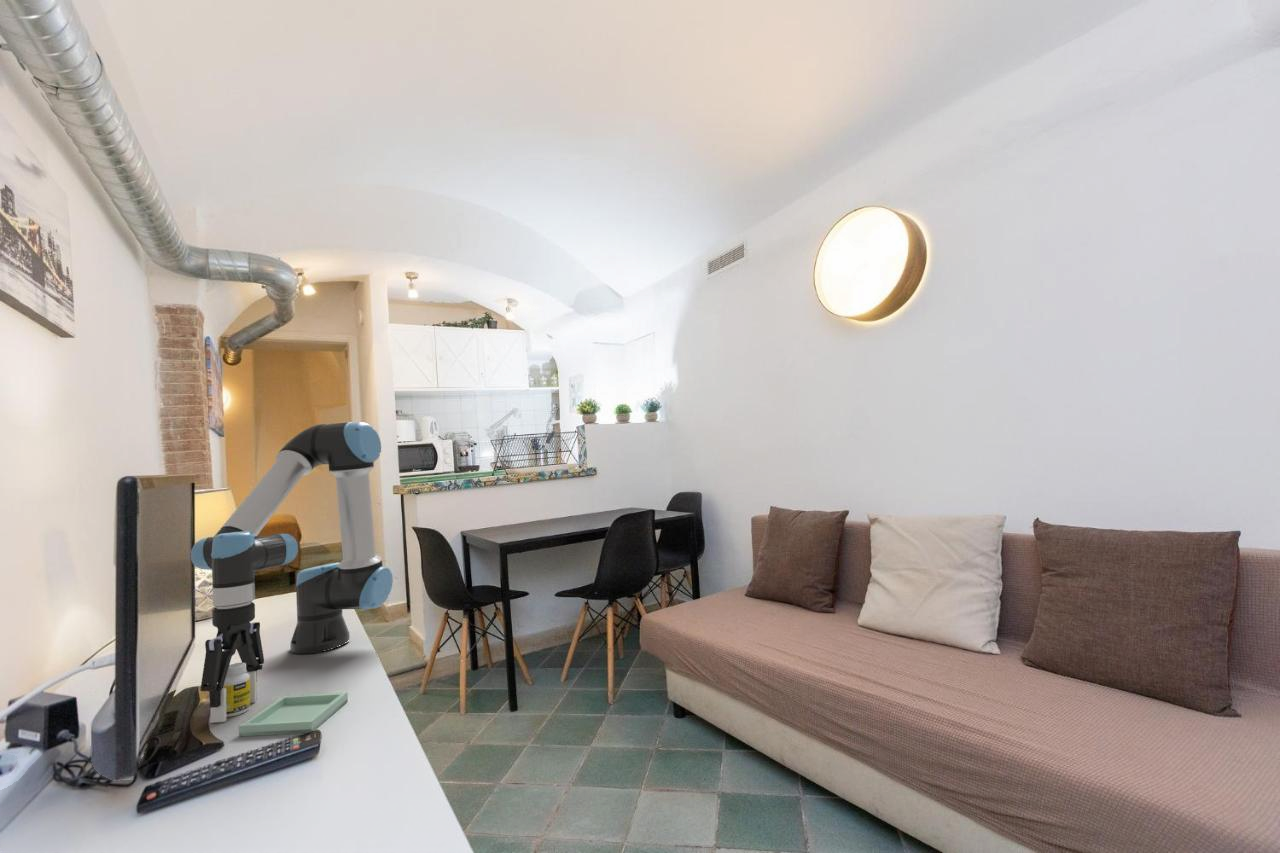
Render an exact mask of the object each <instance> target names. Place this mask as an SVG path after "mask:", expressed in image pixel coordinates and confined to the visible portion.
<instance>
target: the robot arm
mask: <svg viewBox="0 0 1280 853" xmlns="http://www.w3.org/2000/svg"><path fill="white" fill-rule="evenodd" d="M380 453H382V441H381V437H380V436H379V433H378V432H377V430H376V429H375V428H374V427H373V426H372V425H371V424H369V423H367V422H361V421H355V422H354V421H350V422H339V423H337V422H336V423H321V424H316V425H312V426H310V427H308V428H305V429H304V430H302V431H301V432H299V433H298V434H296V435H295V436H294V437H292V438H291V439H290V440H289V441H287V443H286V444H285V445H284V446H283V447H282V448H281V449H280V450H279V452H277V454H276V455H275V462H274V464H272V466H271V467H270V468H269V470H268V471H267V472H266V473H265V474H264V476H262V478H261V480H259V482H257V484H256V485H255V486H254V487H253V489H252V490H251V491H250V492H249V494H248V495H247V496H246V497H245V499H243V501H242V502H241V503H240V504H239V506H238V507H236V509H235V511H233V513H232V514H231V515H230V517H228V519H227V520H226V521H225V522H224V523H223V525H222V526H221V527H220V529H219V530H218V531H217V532H216V533H215V535H214V536H210V537H209V536H208V537H205V538H204V537H203V538H201V539H199V540H197V541H196V542H195V543H194V545H193V546H192V548H191V551H190V559H191V560H190V561H191V562H192V564H193V565H194V567H196V568H198V569H201V570H207V571H211V574H212V575H211V576H212V579H211V580H212V583H211V585H212V606H213V607H214V608H212V612H211V613H212V616H211V619H212V623H211V624H212V626H213V627H215V628H217V633H216V635H215V636H216V637H214V638H213V639H207V640H205V643H204V646H205V654H204V655H205V657H204V663H203V670H202V677H201V683H200V691H201V692H208V693H209V708H210V723H225V722H226V721H227V717H226V688H223V685H224V682H225V679H226V675H227V672H228V668H229V665H231V661H232V657H233V656H234V655H235V654H236V653H238V656H239V658H240V661H241V663H246V671H245V673H248V674H249V675H250V704H251V703H256V702H257V701H258V690H257V689H258V686H257V685H258V684H257V683H258V671H261V670H262V669H263V664H264V663H265V657H264V650H263V646H262V639H261V634H260V633H261V630H260V629H261V623H260V622H252V621H254V620H255V618H256V614H255V613H256V604H255V603H254V600H255V599H256V591H255V590H256V587H255V585H256V584H255V580H256V579H255V573H256V572H259V571H263V570H268V569H271V568H272V569H273V568H279V567H280V568H281V567H282V566H284V565H287V564H289V563H292V562H293V561H294V560H295V559H296V557H297V555H298V552H299V546H298V545H299V544H298V541H297V540H296V538H295V537H294V536H293V535H291V534H289V533H275V534H271V535H259V534H260V532H261V531H262V530H263V529H264V527H265V526H266V525H267V523H268V522H269V521H270V519H272V518H271V517H273V515H274V514H275V513H276V511H277V510H278V509H279V507H281V505H282V504H283V502H284V501H285V499H286V498H287V497H288V496H289V494H291V492H292V490H293V489H294V488H295V486H297V484H298V483H299V481H300V480H301V479H302V477H304V476H305V477H306V476H308V475H309V474H311V472H312V471H313V469H314V468H316V467H319V466H322V465H328V472H329V473H330V474H331V475H333V476H334V477H335V484H336V496H337V504H338V505H337V506H338V517H339V518H338V519H339V527H340V528H339V529H340V541H341V550H342V560H341V561H340V562H333V563H332V562H331V563H328V564H327V563H326V564H323V565H318V566H317V565H316V566H313V567H308V568H305V569H302V570H300V571H299V572H298V573H297V575H296V584H295V591H296V594H295V596H296V626H295V628H294V632H293V635H292V637H291V640H290V644H289V645H290V653H292V654H298V655H308V654H316V653H315V652H317V653H321V652H320V651H323V652H325V651H324V650H328V649H331V648H334V647H337V646H339V645H342V644H344V643H345V642H347V641H348V640H349V639H350V638H351V636H350V631H349V628H348V625H347V623H346V621H345V618H344V615H343V610H362V611H364V610H369V609H371V610H372V609H376V608H379V607H381V606H382V605H384V603H386V601H387V600H388V599H389V595H391V591H392V587H393V582H394V581H393V580H394V579H393V578H394V576H393V573H392V570H391V569H390V568H389V567H387V566H384V565H383V558H382V557H381V556H380V555H378V554H377V552H376V542H375V540H376V539H375V531H374V530H375V529H374V518H373V508H372V507H373V505H372V495H371V486H370V485H371V484H370V473H371V471H372V470H373V469H374V468H375V465H374V462H375V461H377V460H378V459H379V457H380V456H381V454H380ZM331 650H332V649H331ZM236 651H237V652H236ZM328 651H329V650H328ZM307 653H308V654H307Z"/></svg>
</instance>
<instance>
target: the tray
mask: <svg viewBox="0 0 1280 853" xmlns="http://www.w3.org/2000/svg"><path fill="white" fill-rule="evenodd" d="M348 698H349V697H348V692H331V693H330V692H329V693H316V694H302V695H301V694H299V695H298V694H297V695H282V696H281V697H280V698H278V699H277V700H275V701H273V702H272V703H271V704H269V705H268V706H266V707H265V708H263V709H262V710H261V711H258V712H257V713H256V714H254V715H253V716H251V717H250V718H248V719H247V720H245V721H244V722H243V723H241V724H240V725H239V726H238V737H239V738H240V737H254V736H256V737H257V736H270V735H286V734H290V735H291V734H302V733H312V732H311V731H313V730H314V731H315V730H316V729H318V728H319V727H320V726H321V725H322V724H323V723H325V721H327V720H328V719H329V718H331V717H332V716H333V715H334V714H335V713H336V712H338V711H339V710H340V709H341V708H342V707H343V706H345V705H346V704H347V703H348ZM314 731H313V732H314Z"/></svg>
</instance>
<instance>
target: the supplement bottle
mask: <svg viewBox="0 0 1280 853" xmlns="http://www.w3.org/2000/svg"><path fill="white" fill-rule="evenodd" d="M245 672H247V671H246V663H242V662H236V663H230V665H229V668H228V672H227V675H226V679H225V682H224V685H223V688H226V718H230V717H235V716H239V715H241V714H244V713H246V712H248V711H249V710H250V708H251V703H250V675H249V674H248V673H245Z"/></svg>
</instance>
